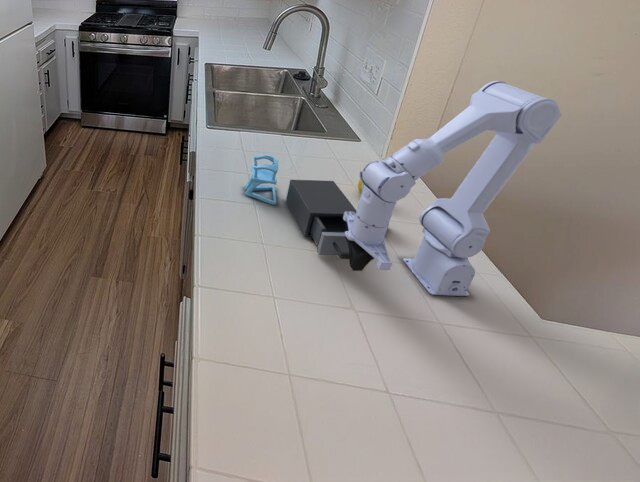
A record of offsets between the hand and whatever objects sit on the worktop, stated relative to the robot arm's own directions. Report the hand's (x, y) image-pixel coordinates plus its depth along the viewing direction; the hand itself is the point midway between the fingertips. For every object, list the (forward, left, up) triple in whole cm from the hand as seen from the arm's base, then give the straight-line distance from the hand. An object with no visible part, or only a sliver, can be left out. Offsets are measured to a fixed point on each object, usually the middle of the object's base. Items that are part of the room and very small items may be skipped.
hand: (355, 268), depth 82 cm
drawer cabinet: (+19, 0, -3) cm, 19 cm away
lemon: (+29, -18, -3) cm, 34 cm away
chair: (+29, +12, -3) cm, 31 cm away
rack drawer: (+10, 0, -2) cm, 10 cm away
